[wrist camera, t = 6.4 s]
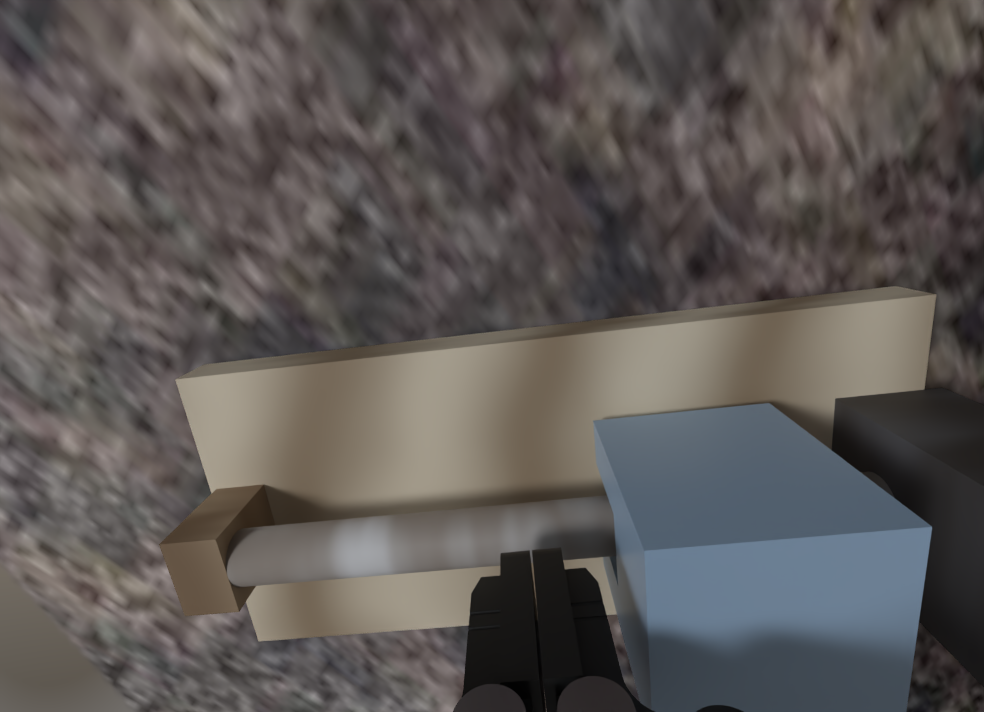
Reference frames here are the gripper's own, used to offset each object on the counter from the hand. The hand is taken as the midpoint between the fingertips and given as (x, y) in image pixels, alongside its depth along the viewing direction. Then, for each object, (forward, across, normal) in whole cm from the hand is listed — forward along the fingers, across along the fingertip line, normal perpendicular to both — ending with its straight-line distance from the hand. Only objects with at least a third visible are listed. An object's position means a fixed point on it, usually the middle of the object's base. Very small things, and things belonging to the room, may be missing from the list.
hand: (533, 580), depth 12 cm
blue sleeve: (+3, -5, 0) cm, 6 cm away
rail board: (+5, -1, 0) cm, 5 cm away
